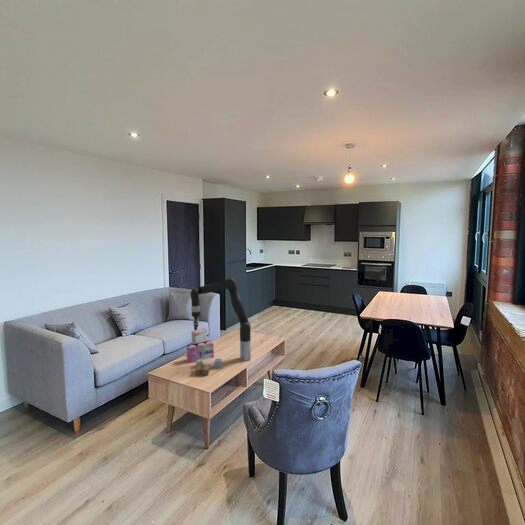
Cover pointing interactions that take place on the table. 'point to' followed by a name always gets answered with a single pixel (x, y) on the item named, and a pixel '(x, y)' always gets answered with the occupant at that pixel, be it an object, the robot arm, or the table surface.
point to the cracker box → (199, 336)
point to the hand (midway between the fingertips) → (196, 328)
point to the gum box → (200, 351)
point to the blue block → (218, 363)
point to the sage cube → (199, 362)
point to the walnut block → (202, 370)
